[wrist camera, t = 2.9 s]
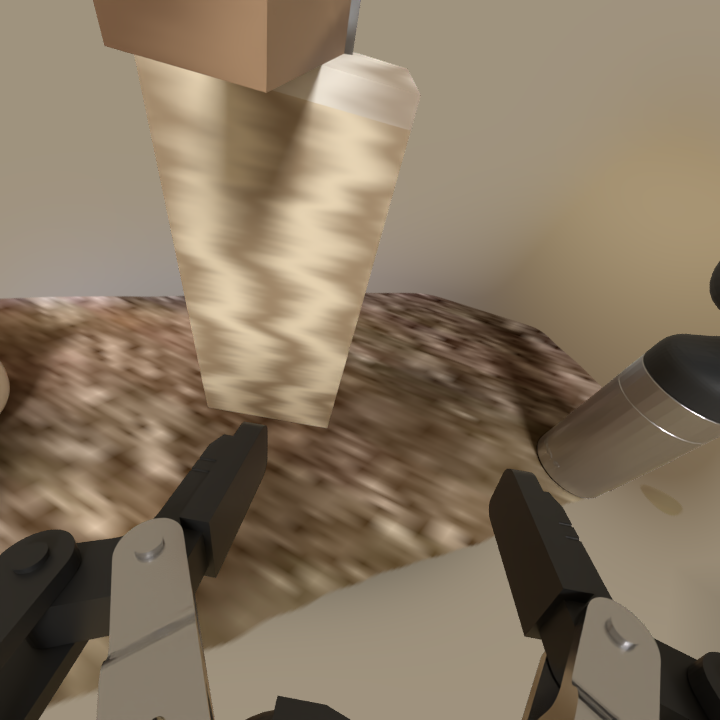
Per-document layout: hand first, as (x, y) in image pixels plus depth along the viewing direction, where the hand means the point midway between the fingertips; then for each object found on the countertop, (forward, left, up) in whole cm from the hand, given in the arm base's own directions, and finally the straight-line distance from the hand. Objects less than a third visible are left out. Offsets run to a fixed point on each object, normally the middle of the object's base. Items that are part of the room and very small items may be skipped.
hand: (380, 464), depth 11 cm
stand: (+7, -24, -24) cm, 34 cm away
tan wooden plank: (+7, -18, +8) cm, 21 cm away
